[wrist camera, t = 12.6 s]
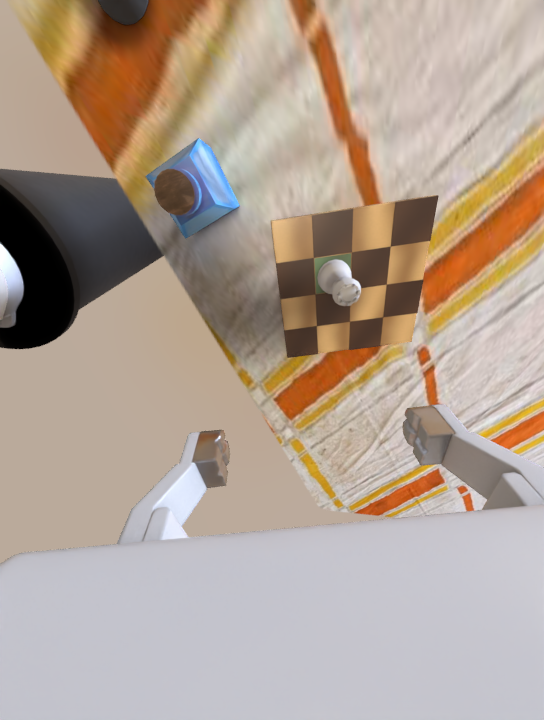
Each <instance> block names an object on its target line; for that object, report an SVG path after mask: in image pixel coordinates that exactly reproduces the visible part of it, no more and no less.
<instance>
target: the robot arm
mask: <svg viewBox="0 0 544 720" xmlns="http://www.w3.org/2000/svg"><path fill="white" fill-rule="evenodd" d="M24 296H25V281H24V277H23V274H22V272H21V269H20V267H19V265H18V263H17V262H16V260H15V258H14V257H13V255H12V254H11V253H10V251H9V250H8V249H7V248H6V247H5V245H4V244H3V243H2V242H1V241H0V327H2V328H9V327H12V326H14V325H16V324H17V319H18V317H17V310H18V307H19V306H20V304H21V303H22V301H23V299H24ZM405 416H406V417H407V419H406V420H405V421H404V422H403V434H404V436H405V439H406V441H407V443H408V444H410V445H411V446H413V447H414V449H413V453H414V455H415V457H416V458H417V460H418V462H419V463H420V465H434V464H442V466H444V467H445V468H446V469H448V470H449V471H450V472H452V473H453V474H454V475H456V476H457V477H458V478H460V479H461V480H462V481H463V482H465V483H466V484H467V485H469V486H470V487H471V488H473V489H474V490H475V491H477V492H478V493H479V494H481V495H482V496H483V497H484V498H486V499H487V502H486V503H485V505H484V507H483V509H482V510H477V511H466V512H456V513H445V514H434V515H423V516H413V517H402V518H391V519H381V520H370V521H359V522H348V523H337V524H328V525H316V526H306V527H295V528H284V529H274V530H263V531H252V532H241V533H232V534H220V535H209V536H199V537H188V536H187V534H186V533H185V531H184V530H183V528H182V525H183V524H184V523H185V521H186V520H187V518H188V517H189V515H190V514H191V512H192V511H193V509H194V508H195V506H196V505H197V504H198V502H199V500H200V499H201V498H202V496H203V495H204V493H205V492H206V490H207V488H211V487H218V486H225V485H226V483H227V475H228V471H227V467H226V466H227V465H228V463H229V459H230V450H229V445H228V442H227V441H226V440H225V433H224V430H214V431H204V432H194V433H190V434H189V435H188V437H187V440H186V443H185V446H184V450H183V453H182V456H181V460H180V462H179V464H176V465H175V466H174V467H173V468H172V469H171V470H170V471H169V472H168V473H167V474H166V475H165V476H164V477H163V478H162V479H161V480H160V481H159V482H158V483H157V484H156V485H155V486H154V487H153V488H152V489H151V490H150V491H149V492H148V493H147V494H146V495H145V496H144V497H143V498H142V499H141V500H140V501H139V502H138V503H137V504H136V505H135V506H134V507H133V508H132V510H131V512H130V514H129V516H128V519H127V521H126V524H125V526H124V528H123V531H122V533H121V535H120V538H119V540H118V543H117V544H113V545H101V546H91V547H79V548H69V549H58V550H47V551H35V552H25V553H19V554H16V555H13V556H12V557H10V558H8V559H7V560H5V561H4V562H2V563H1V564H0V720H544V467H542V466H540V465H538V464H536V463H534V462H532V461H530V460H528V459H526V458H524V457H522V456H520V455H518V454H516V453H514V452H512V451H510V450H508V449H506V448H504V447H502V446H500V445H498V444H496V443H494V442H492V441H490V440H488V439H486V438H484V437H482V436H480V435H478V434H476V433H474V432H471V433H470V432H469V431H468V430H467V429H466V427H465V426H464V425H463V424H462V423H461V422H460V421H459V419H458V418H457V417H456V416H455V415H454V414H453V412H452V411H451V410H450V409H449V408H448V407H447V406H446V405H445V404H438V405H431V406H422V407H414V408H407V410H406V412H405Z"/></svg>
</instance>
